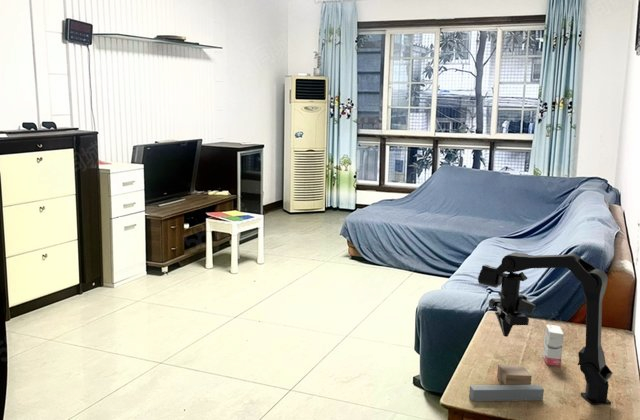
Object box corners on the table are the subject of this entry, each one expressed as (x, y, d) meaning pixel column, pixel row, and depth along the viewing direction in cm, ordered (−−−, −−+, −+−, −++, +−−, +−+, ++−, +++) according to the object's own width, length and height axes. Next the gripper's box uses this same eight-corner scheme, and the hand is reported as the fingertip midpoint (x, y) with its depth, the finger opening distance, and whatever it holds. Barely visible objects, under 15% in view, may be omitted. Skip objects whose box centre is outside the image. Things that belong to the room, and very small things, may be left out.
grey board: (542, 400, 183) (543, 389, 183) (472, 401, 181) (473, 390, 180) (538, 395, 186) (539, 384, 186) (469, 396, 184) (470, 385, 183)
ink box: (560, 366, 208) (564, 334, 206) (545, 365, 209) (549, 332, 207) (556, 356, 216) (560, 325, 214) (542, 355, 217) (545, 323, 215)
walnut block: (530, 389, 191) (531, 375, 190) (505, 388, 190) (506, 375, 190) (520, 377, 199) (522, 364, 198) (496, 377, 198) (498, 364, 198)
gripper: (547, 300, 190) (541, 347, 193) (521, 282, 209) (516, 325, 211) (513, 300, 189) (508, 347, 192) (490, 282, 207) (485, 325, 210)
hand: (505, 336), depth 201 cm, fingers closed
